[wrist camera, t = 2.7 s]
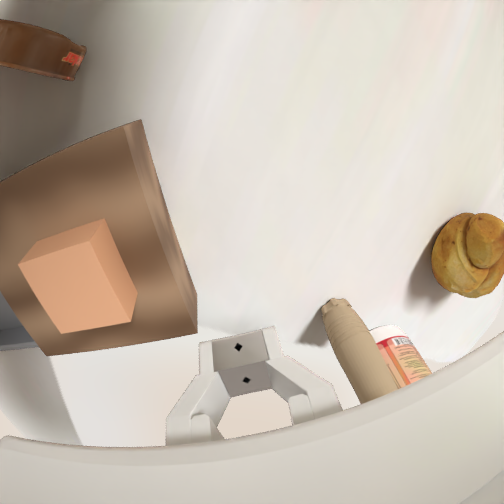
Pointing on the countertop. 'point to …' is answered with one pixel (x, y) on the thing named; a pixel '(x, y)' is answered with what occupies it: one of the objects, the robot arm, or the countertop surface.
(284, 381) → the robot arm
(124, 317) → the terracotta block
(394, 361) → the fruit juice
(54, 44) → the tin
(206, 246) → the countertop surface
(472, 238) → the bread roll
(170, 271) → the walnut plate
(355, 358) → the handle
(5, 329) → the box
